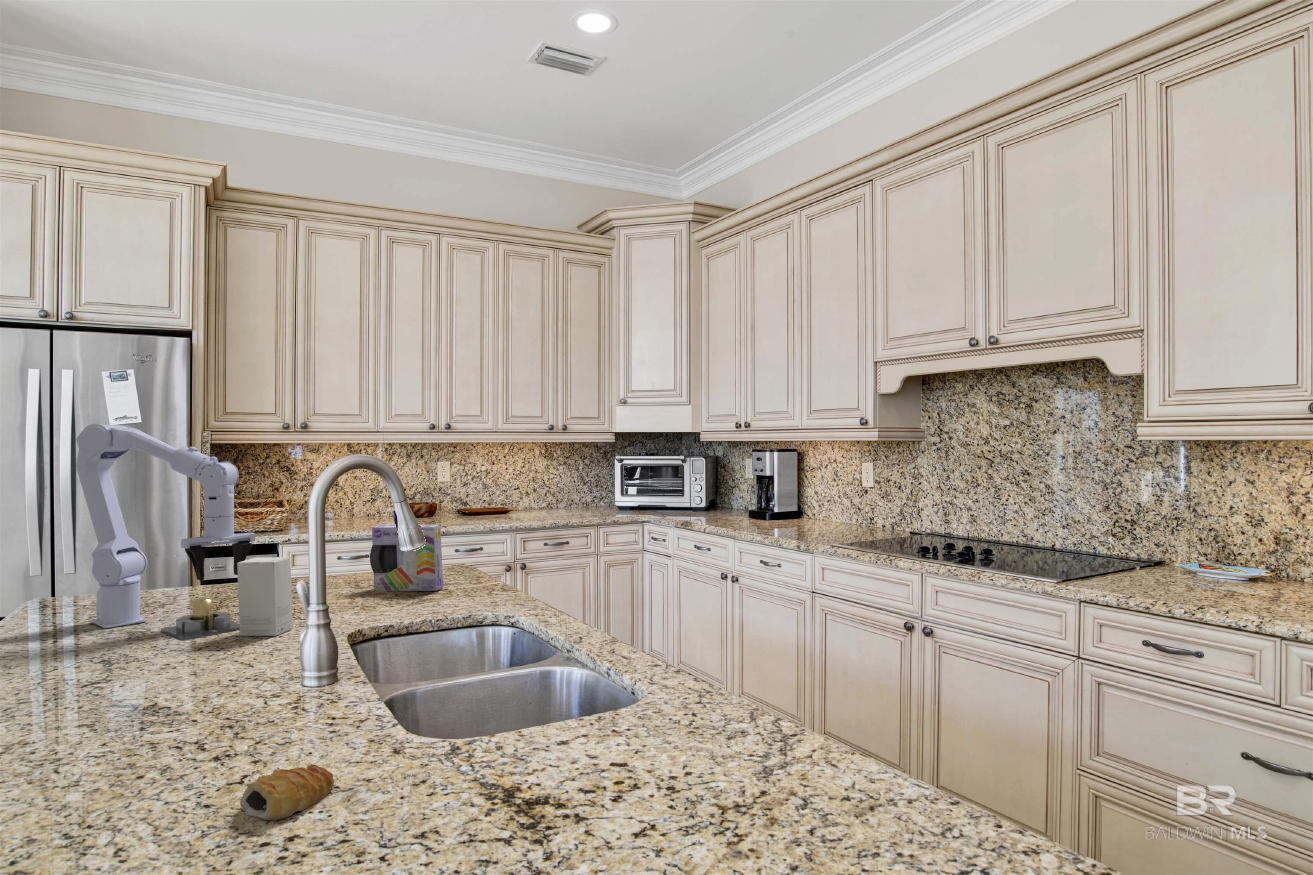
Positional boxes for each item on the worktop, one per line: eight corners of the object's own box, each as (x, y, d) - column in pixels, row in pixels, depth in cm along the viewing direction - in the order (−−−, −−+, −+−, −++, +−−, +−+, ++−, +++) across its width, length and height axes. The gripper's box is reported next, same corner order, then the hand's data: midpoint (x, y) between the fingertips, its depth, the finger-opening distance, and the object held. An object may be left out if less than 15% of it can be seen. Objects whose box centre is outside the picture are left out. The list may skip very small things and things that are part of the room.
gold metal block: (189, 628, 157) (189, 599, 157) (206, 624, 160) (206, 596, 160) (202, 631, 155) (202, 602, 155) (219, 627, 158) (219, 599, 158)
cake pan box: (368, 590, 199) (368, 524, 199) (378, 586, 204) (378, 522, 204) (435, 593, 196) (435, 526, 196) (443, 589, 201) (444, 524, 201)
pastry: (310, 778, 89) (310, 747, 89) (348, 792, 86) (349, 759, 86) (234, 813, 81) (234, 778, 81) (273, 829, 77) (273, 793, 77)
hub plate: (161, 630, 157) (161, 618, 157) (222, 619, 166) (222, 607, 166) (183, 640, 149) (183, 626, 149) (245, 628, 159) (245, 615, 159)
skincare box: (293, 629, 158) (293, 556, 158) (274, 637, 152) (274, 561, 152) (256, 628, 159) (256, 556, 159) (236, 636, 152) (236, 561, 152)
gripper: (190, 520, 157) (190, 584, 157) (261, 514, 168) (261, 574, 168) (177, 518, 161) (177, 580, 161) (247, 512, 172) (247, 571, 172)
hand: (219, 577), depth 165 cm, fingers open, 7 cm apart
